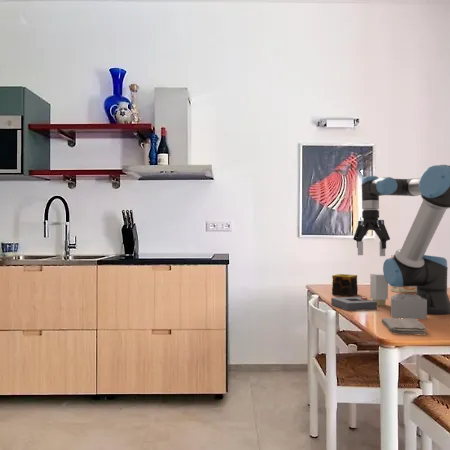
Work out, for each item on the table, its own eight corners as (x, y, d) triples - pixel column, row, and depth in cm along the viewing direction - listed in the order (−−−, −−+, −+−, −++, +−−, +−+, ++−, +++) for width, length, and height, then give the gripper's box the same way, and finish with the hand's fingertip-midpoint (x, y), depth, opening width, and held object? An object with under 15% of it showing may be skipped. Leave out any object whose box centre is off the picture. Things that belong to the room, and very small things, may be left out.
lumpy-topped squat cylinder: (390, 313, 184) (390, 291, 184) (425, 315, 180) (425, 293, 180) (391, 318, 174) (391, 295, 174) (428, 320, 170) (428, 297, 170)
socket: (376, 308, 192) (376, 300, 192) (347, 310, 189) (347, 301, 189) (359, 303, 206) (359, 294, 206) (331, 304, 202) (331, 296, 202)
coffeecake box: (398, 292, 238) (398, 256, 238) (390, 290, 245) (390, 255, 245) (422, 291, 242) (422, 255, 242) (413, 290, 249) (413, 254, 249)
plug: (387, 303, 207) (387, 273, 207) (393, 305, 202) (393, 274, 202) (370, 304, 204) (370, 274, 204) (376, 305, 200) (376, 275, 200)
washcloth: (391, 335, 148) (391, 326, 148) (380, 323, 166) (380, 315, 166) (429, 337, 147) (429, 327, 147) (414, 324, 165) (414, 316, 165)
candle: (350, 296, 225) (350, 276, 225) (331, 294, 231) (331, 275, 231) (358, 294, 233) (358, 275, 233) (339, 292, 239) (339, 273, 239)
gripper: (397, 208, 200) (398, 256, 200) (357, 211, 222) (357, 254, 222) (385, 208, 197) (386, 256, 196) (345, 211, 219) (346, 255, 218)
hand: (371, 255), depth 209 cm, fingers open, 13 cm apart
